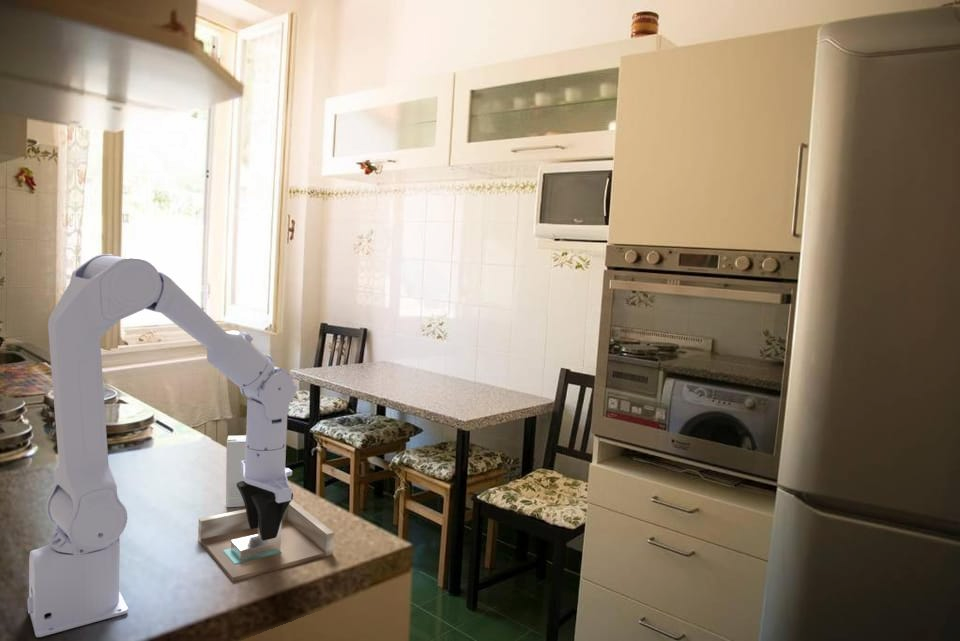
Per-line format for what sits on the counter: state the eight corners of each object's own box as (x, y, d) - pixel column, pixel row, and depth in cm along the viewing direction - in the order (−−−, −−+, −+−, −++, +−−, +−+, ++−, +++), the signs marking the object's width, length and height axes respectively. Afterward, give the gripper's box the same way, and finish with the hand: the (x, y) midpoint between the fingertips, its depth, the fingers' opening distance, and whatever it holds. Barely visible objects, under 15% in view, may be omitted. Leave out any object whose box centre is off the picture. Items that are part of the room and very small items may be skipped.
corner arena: (232, 581, 88) (233, 557, 88) (198, 540, 100) (198, 518, 99) (332, 554, 98) (334, 532, 98) (291, 519, 110) (291, 499, 109)
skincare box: (261, 497, 118) (263, 433, 117) (261, 506, 114) (264, 440, 113) (225, 499, 116) (227, 434, 115) (224, 509, 112) (226, 441, 111)
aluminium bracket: (280, 550, 97) (281, 515, 96) (240, 560, 93) (241, 524, 92) (269, 540, 100) (271, 506, 99) (230, 549, 96) (231, 514, 95)
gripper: (312, 454, 93) (308, 544, 94) (272, 429, 103) (269, 510, 105) (265, 462, 88) (261, 556, 89) (228, 435, 99) (225, 519, 100)
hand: (262, 532), depth 97 cm, fingers closed on aluminium bracket, 4 cm apart
